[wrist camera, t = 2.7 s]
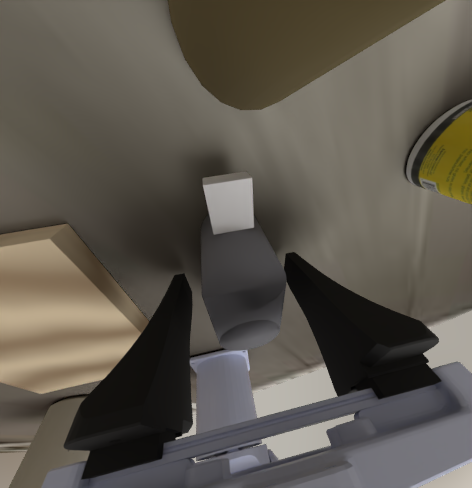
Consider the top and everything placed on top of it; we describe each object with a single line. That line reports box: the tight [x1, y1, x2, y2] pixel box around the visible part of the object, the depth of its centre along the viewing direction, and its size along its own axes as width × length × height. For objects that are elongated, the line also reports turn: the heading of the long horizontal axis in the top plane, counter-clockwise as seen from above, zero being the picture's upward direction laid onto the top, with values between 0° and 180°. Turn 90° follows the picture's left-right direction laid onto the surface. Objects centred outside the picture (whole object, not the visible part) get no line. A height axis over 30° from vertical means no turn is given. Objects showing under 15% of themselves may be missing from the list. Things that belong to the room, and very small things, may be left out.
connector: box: [201, 171, 286, 351], centre depth 11 cm, size 11×4×5 cm, turn 6°
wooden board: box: [0, 224, 149, 394], centre depth 14 cm, size 18×14×2 cm
